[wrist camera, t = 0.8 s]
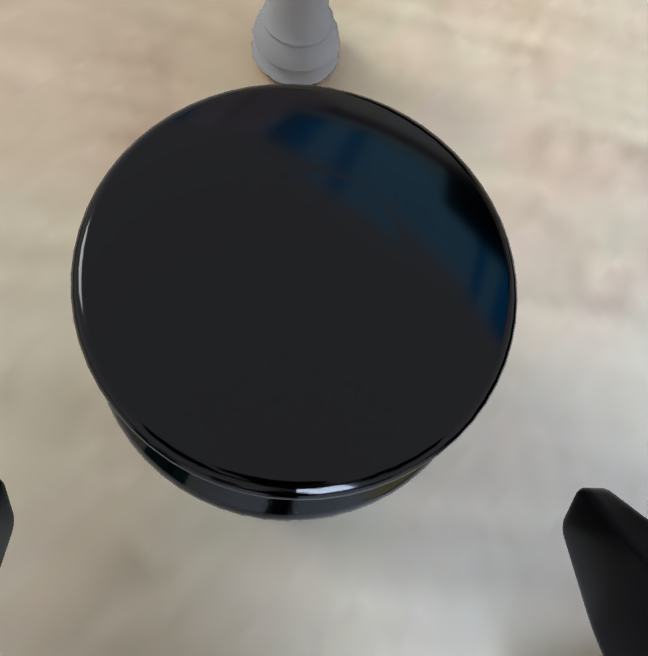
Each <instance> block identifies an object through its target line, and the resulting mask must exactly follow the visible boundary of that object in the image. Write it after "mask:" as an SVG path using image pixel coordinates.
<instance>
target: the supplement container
mask: <svg viewBox="0 0 648 656" xmlns="http://www.w3.org/2000/svg"><path fill="white" fill-rule="evenodd" d="M71 303H72V312H73V320H74V324H75V328H76V333H77V337H78V341H79V344H80V347H81V350H82V352H83V355H84V358H85V360H86V363H87V366H88V368H89V370H90V372H91V374H92V375H93V377H94V379H95V381H96V383H97V385H98V387H99V389H100V390H101V392H102V393H103V395H104V396H105V398H106V400H107V402H108V405H109V407H110V409H111V411H112V413H113V415H114V417H115V419H116V421H117V423H118V425H119V426H120V428H121V429H122V431H123V432H124V434H125V435H126V437H127V438H128V440H129V441H130V443H131V444H132V445H133V446H134V447H135V449H136V450H137V451H138V452H139V453H140V454H141V456H142V457H143V458H144V459H145V460H146V461H147V462H148V463H149V464H150V465H151V466H152V467H153V468H154V469H156V470H157V471H158V472H159V473H160V474H161V475H162V476H163V477H165V478H166V479H167V480H169V481H170V482H172V483H173V484H174V485H176V486H177V487H178V488H180V489H181V490H183V491H185V492H187V493H188V494H190V495H192V496H194V497H195V498H197V499H199V500H201V501H203V502H206V503H208V504H210V505H213V506H215V507H217V508H219V509H223V510H226V511H229V512H232V513H236V514H239V515H242V516H248V517H253V518H258V519H264V520H277V521H304V520H314V519H321V518H328V517H333V516H337V515H340V514H344V513H348V512H352V511H354V510H357V509H359V508H362V507H365V506H367V505H370V504H372V503H374V502H376V501H378V500H380V499H382V498H384V497H386V496H388V495H389V494H391V493H393V492H394V491H396V490H397V489H399V488H400V487H402V486H403V485H405V484H406V483H408V482H409V481H410V480H412V479H413V478H414V477H415V476H416V475H417V474H419V473H420V472H421V471H422V470H423V469H424V468H425V467H426V466H427V465H428V464H429V463H430V462H431V461H432V460H433V459H434V458H435V457H436V456H438V455H439V454H440V453H441V452H442V451H443V450H445V449H446V448H447V447H448V446H449V445H451V444H452V443H453V442H454V441H455V440H456V439H457V438H458V437H459V436H460V435H461V434H462V433H463V432H464V431H465V430H466V429H467V428H468V427H469V425H470V424H471V423H472V422H473V421H474V419H475V418H476V417H477V415H478V414H479V413H480V411H481V410H482V409H483V407H484V406H485V405H486V403H487V401H488V399H489V398H490V396H491V394H492V393H493V391H494V389H495V387H496V386H497V384H498V381H499V379H500V377H501V374H502V372H503V370H504V367H505V365H506V362H507V358H508V355H509V352H510V349H511V345H512V341H513V335H514V330H515V324H516V313H517V280H516V273H515V266H514V259H513V256H512V252H511V248H510V244H509V240H508V237H507V234H506V232H505V229H504V226H503V223H502V221H501V219H500V217H499V214H498V212H497V210H496V208H495V206H494V204H493V202H492V200H491V199H490V197H489V196H488V194H487V192H486V191H485V189H484V187H483V186H482V184H481V183H480V182H479V180H478V179H477V178H476V176H475V175H474V174H473V172H472V171H471V170H470V168H469V167H468V166H467V165H466V164H465V163H464V162H463V161H462V159H461V158H460V157H459V156H458V155H457V154H456V153H455V152H454V151H453V150H452V149H451V148H450V147H449V146H448V145H446V144H445V143H444V142H443V141H442V140H441V139H440V138H438V137H437V136H436V135H435V134H433V133H432V132H431V131H429V130H428V129H427V128H425V127H424V126H423V125H421V124H419V123H418V122H416V121H415V120H413V119H412V118H410V117H408V116H407V115H405V114H403V113H401V112H399V111H397V110H395V109H393V108H391V107H390V106H387V105H385V104H382V103H380V102H378V101H375V100H373V99H370V98H367V97H364V96H361V95H358V94H355V93H352V92H348V91H343V90H339V89H335V88H330V87H323V86H316V85H306V84H268V85H259V86H250V87H245V88H240V89H235V90H231V91H227V92H224V93H220V94H217V95H214V96H210V97H208V98H205V99H203V100H200V101H198V102H195V103H193V104H190V105H188V106H186V107H184V108H182V109H181V110H179V111H177V112H175V113H173V114H171V115H169V116H168V117H166V118H165V119H163V120H162V121H160V122H159V123H157V124H156V125H154V126H153V127H151V128H150V129H149V130H148V131H146V132H145V133H144V134H143V135H141V136H140V137H139V138H138V139H137V140H135V141H134V142H133V143H132V144H131V145H130V146H129V147H128V148H127V149H126V150H125V151H124V152H123V153H122V154H121V156H120V157H119V158H118V159H117V160H116V162H115V163H114V164H113V165H112V167H111V168H110V169H109V170H108V172H107V173H106V175H105V176H104V178H103V179H102V181H101V182H100V184H99V186H98V187H97V189H96V190H95V192H94V194H93V196H92V198H91V200H90V202H89V204H88V206H87V208H86V211H85V214H84V217H83V219H82V222H81V225H80V227H79V231H78V235H77V239H76V243H75V247H74V251H73V260H72V268H71Z"/></svg>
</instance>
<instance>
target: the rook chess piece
mask: <svg viewBox="0 0 648 656" xmlns="http://www.w3.org/2000/svg"><path fill="white" fill-rule="evenodd" d="M253 38H254V39H253V41H252V53H253V58H254V60H255V61H256V63H257V65H258V66H259V68H260V70H261V71H263V72H264V73H265V74H266V75H268V76H269V77H270V78H272V79H273V80H274V81H276V82H277V83H280V84H306V85H312V84H315V83H318V82H320V81H322V80H324V79H325V78H326V77H327V76H328V75H329V74H330V73H331V72H332V71H333V70H334V69H335V66H336V63H337V60H338V58H339V54H338V46H339V44H340V40H339V34H338V28H337V23H336V21H335V20H334V18H333V12H332V10H331V9H330V7H329V0H266V2H265V4H264V7H263V9H262V10H260V12H259V14H258V16H257V19H256V21H255V24H254V27H253Z"/></svg>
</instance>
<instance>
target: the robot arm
mask: <svg viewBox="0 0 648 656" xmlns="http://www.w3.org/2000/svg"><path fill="white" fill-rule="evenodd" d="M13 525H14V515H13V511H12V508H11V505H10V501H9V498H8V495H7V491H6V488H5V485H4V483H3V482H2V481H1V480H0V567H1V564H2V561H3V558H4V555H5V552H6V549H7V546H8V543H9V540H10V537H11V534H12V530H13ZM563 534H564V538H565V542H566V545H567V548H568V552H569V555H570V558H571V561H572V565H573V568H574V571H575V575H576V578H577V581H578V585H579V588H580V591H581V594H582V598H583V601H584V604H585V608H586V611H587V614H588V617H589V620H590V623H591V626H592V629H593V631H594V634H595V637H596V639H597V642H598V644H599V647H600V649H601V652H602V654H603V656H648V519H646V518H645V517H644V516H642V515H641V514H640V513H639V512H637V511H636V510H635V509H633V508H632V507H631V506H629V505H628V504H627V503H625V502H624V501H623V500H621V499H620V498H619V497H617V496H616V495H615V494H613V493H612V492H610V491H609V490H607V489H604V488H581V489H580V490H579V491H578V492H577V493H576V495H575V497H574V499H573V501H572V503H571V506H570V508H569V510H568V512H567V514H566V516H565V518H564V521H563Z"/></svg>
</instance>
